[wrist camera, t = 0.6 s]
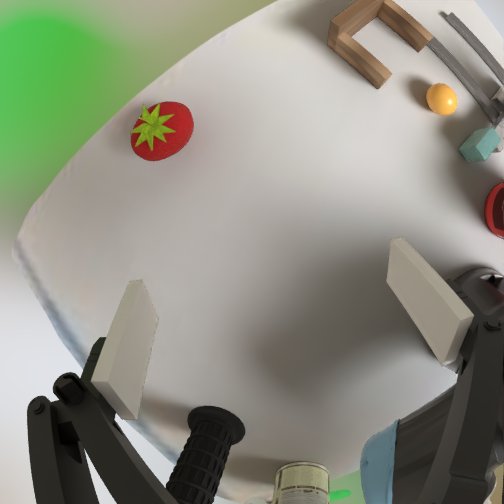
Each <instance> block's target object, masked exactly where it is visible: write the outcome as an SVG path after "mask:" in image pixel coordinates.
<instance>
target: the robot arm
mask: <svg viewBox="0 0 504 504" xmlns="http://www.w3.org/2000/svg"><path fill="white" fill-rule="evenodd" d="M386 282H387V284H388V285H389V286H390V288H391V289H392V291H393V292H394V293H395V295H396V296H397V298H398V299H399V301H400V302H401V304H402V305H403V306H404V308H405V309H406V311H407V312H408V314H409V315H410V317H411V318H412V320H413V321H414V323H415V324H416V326H417V327H418V329H419V331H420V332H421V334H422V335H423V337H424V338H425V340H426V341H427V343H428V345H429V346H430V348H431V349H432V351H433V353H434V354H435V356H436V357H437V359H438V361H439V362H440V364H441V366H445V367H447V368H448V369H450V370H452V371H454V372H455V373H456V374H457V373H458V378H457V383H456V384H455V385H453V386H452V387H450V388H449V389H448V390H446V391H445V392H443V393H442V394H440V395H439V396H438V397H436V398H435V399H433V400H432V401H430V402H429V403H427V404H426V405H424V406H422V407H421V408H419V409H418V410H416V411H414V412H413V413H411V414H410V415H408V416H406V417H405V418H403V419H401V420H400V419H397V420H396V421H395V422H394V424H392V425H390V426H389V427H387V428H386V429H384V430H382V431H381V432H379V433H377V434H375V435H374V436H372V437H371V438H370V439H369V440H368V441H367V442H366V444H365V446H364V448H363V451H362V455H361V463H360V469H361V483H362V490H363V494H364V499H365V502H366V504H491V501H490V499H489V498H490V497H491V495H492V493H493V492H494V489H495V487H496V482H497V480H496V476H495V474H494V471H493V470H495V469H496V468H497V467H499V466H500V465H502V464H503V463H504V275H502V274H500V273H499V272H497V271H495V270H493V269H489V268H478V269H474V270H471V271H469V272H467V273H465V274H463V275H462V276H460V277H459V278H457V279H456V280H455V281H454V282H453V281H451V280H450V279H447V280H443V279H442V278H441V277H440V276H439V274H438V273H437V272H436V271H435V270H434V269H433V268H432V267H431V266H430V265H429V264H428V263H427V262H426V261H425V260H424V258H423V257H422V256H421V255H420V254H419V253H418V252H417V251H416V250H415V249H414V248H413V247H412V246H411V245H410V244H409V243H408V242H407V241H406V240H405V239H404V238H403V237H402V238H397V239H391V242H390V253H389V263H388V272H387V280H386ZM158 320H159V319H158V316H157V314H156V312H155V309H154V307H153V304H152V302H151V299H150V297H149V294H148V292H147V289H146V287H145V284H144V281H143V279H141V280H134V281H130V282H129V284H128V286H127V288H126V291H125V293H124V295H123V298H122V300H121V303H120V305H119V307H118V310H117V312H116V315H115V317H114V320H113V322H112V325H111V327H110V330H109V332H108V335H107V337H100V338H99V339H98V340H97V341H96V342H95V344H94V345H93V347H92V349H91V352H90V356H89V357H88V359H87V362H86V365H85V367H84V370H83V373H82V375H81V378H79V377H78V376H77V375H76V374H75V373H72V372H69V373H65V374H63V375H61V376H60V377H59V378H57V380H56V381H55V383H54V385H53V393H54V394H55V395H56V396H57V397H58V399H59V400H57V401H54V402H50V401H49V400H48V399H47V398H46V397H45V396H38V397H36V398H34V399H33V400H32V401H31V402H30V403H29V406H28V409H27V425H28V442H29V454H30V463H31V473H32V480H33V486H34V492H35V498H36V503H37V504H99V501H98V498H97V495H96V491H95V488H94V485H93V482H92V478H91V474H90V471H89V467H88V463H87V459H86V455H85V450H86V452H87V454H88V456H89V458H90V460H91V462H92V463H93V465H94V467H95V469H96V470H97V472H98V474H99V476H100V477H101V479H102V481H103V482H104V484H105V486H106V487H107V489H108V491H109V492H110V494H111V495H112V497H113V498H114V500H115V501H116V503H117V504H179V503H178V502H177V501H176V500H175V499H174V498H173V496H172V495H171V494H170V493H169V492H168V491H167V489H166V488H165V487H164V486H163V485H162V484H161V482H160V481H159V480H158V479H157V477H156V476H155V475H154V474H153V472H152V471H151V470H150V469H149V467H148V466H147V465H146V464H145V462H144V461H143V460H142V458H141V457H140V455H139V454H138V453H137V451H136V450H135V448H134V447H133V446H132V444H131V443H130V441H129V440H128V438H127V437H126V436H125V434H124V433H123V431H122V430H121V428H120V427H119V425H118V424H117V422H116V421H115V420H114V419H115V414H116V413H117V414H118V415H119V417H120V418H121V419H124V420H138V414H139V409H140V403H141V398H142V393H143V388H144V383H145V378H146V373H147V368H148V363H149V359H150V354H151V350H152V345H153V341H154V337H155V332H156V328H157V324H158ZM84 449H85V450H84ZM503 477H504V476H503ZM502 504H504V478H503V493H502Z"/></svg>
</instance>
